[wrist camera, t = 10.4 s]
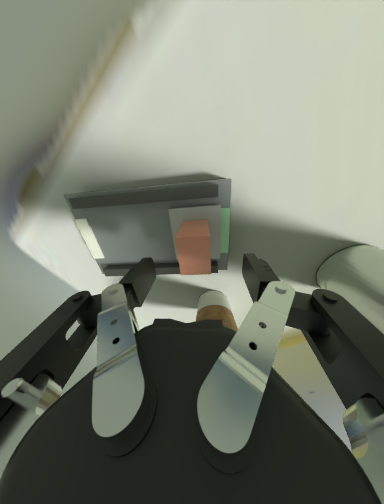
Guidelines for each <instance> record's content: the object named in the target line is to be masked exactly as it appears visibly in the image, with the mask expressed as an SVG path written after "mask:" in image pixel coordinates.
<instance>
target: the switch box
mask: <svg viewBox="0 0 384 504" xmlns="http://www.w3.org/2000/svg"><path fill="white" fill-rule="evenodd" d="M64 197H65V199H66V201H67V203H68V205H69V207H70V209H71V211H72V213H73V215H74V217H75V222H76V224H77V226H78V228H79V230H80V232H81V234H82V236H83V238H84V240H85V242H86V244H87V246H88V248H89V250H90V252H91V254H92V256H93V258H94V259H96V261H97V263H98V265H99V267H100V269H101V271H102V274H105V276H125V275H126V274H127V273H128V271H130V269H131V268H132V267H133V266H134V265H135V264H137V263H139V262H140V261H141V259H142V258H146V257H152V259H153V262H154V265H155V269H156V275H161V274H181V273H180V267H179V261H177V260H176V254H175V248H174V242H173V236H172V230H171V224H170V218H169V211H168V209H169V208H179V207H192V206H204V205H217V204H220V205H221V228H220V259H211V273H218V270H227V264H228V248H229V226H230V197H231V179H218V180H207V181H197V182H186V183H176V184H166V185H155V186H145V187H134V188H124V189H114V190H103V191H93V192H83V193H74V194H66V195H64Z"/></svg>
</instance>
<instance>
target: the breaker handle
mask: <svg viewBox="0 0 384 504" xmlns="http://www.w3.org/2000/svg"><path fill="white" fill-rule="evenodd" d="M168 211H169V218H170V224H171V230H172V236H173V242H174V248H175V254H176V260H177V261H179V267H180V273H181V275H197V274H211V259H220V228H221V205H220V204H217V205H204V206H192V207H179V208H169V209H168Z"/></svg>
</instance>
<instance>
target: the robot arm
mask: <svg viewBox="0 0 384 504" xmlns="http://www.w3.org/2000/svg"><path fill="white" fill-rule="evenodd" d="M242 274H243V278H244V280H245V283H246V285H247V288H248V290H249V293H250V296H251V298H252V301H253V303H254V304H253V306H252V307H251V309H250V311H249V312H248V314H247V316H246V317H245V319H244V321H243V322H242V324H241V326H240V327H239V329H238V331H237V332H236V331H235V330H233V329H231V328H229V327H226V326H223V324H222V320H208V319H205V320H200V321H196V322H191V323H183V322H180V321H176V320H173V319H155V320H154V322H153V324H152V325H149V326H147V327H144V328H142V329H141V330H140V329H139V326H138V323H137V319H136V316H135V312H134V310H133V309H134V308H135V307H141V306H142V304H143V302H144V300H145V298H146V296H147V294H148V292H149V290H150V288H151V286H152V284H153V282H154V280H155V278H156V269H155V265H154V262H153V259H152V257H146V258H142V259H141V261H140V262H139V263H137V264H135V265H134V266H133V267H132V268H131V269H130V271H128V273H127V274H126V275H125V276H124V277H123V279H122V280H121V281H120V282H119V283H118V284H113V285H111V286H109V287H107V288H106V289H105V290H104V291H103V292H102V294H98V295H94V296H91V294H90V292H89V291H81V292H78V293H76V294H74V295H72V296H71V297H69V298H68V299H67V300H66V301H65V302H64V303H63V304H62V305H61V306H60V307H58V308H57V309H56V311H54V312H53V313H52V314H51V315H50V316H49V317H48V318H47V319H46V320H44V321H43V322H42V323H41V324H40V325H39V326H38V327H37V328H36V329H35V330H33V331H32V332H31V333H30V334H29V335H28V336H27V337H26V338H25V339H24V340H23V341H21V342H20V343H19V344H18V345H17V346H16V347H15V348H14V349H13V350H12V351H11V352H10V353H8V354H7V355H6V356H5V357H4V358H3V359H2V360H1V361H0V504H384V250H381V249H379V248H376V247H374V246H369V245H359V246H353V247H350V248H347V249H344V250H342V251H340V252H337V253H336V254H334V255H333V256H331V257H330V258H328V259H327V260H326V261H325V262H324V263H323V264H322V265H321V267H320V268H319V270H318V272H317V276H316V277H317V283H318V284H319V286H320V287H321V288H322V289H316V290H314V291H313V293H312V295H310V294H305V293H300V292H296V291H295V290H294V288H293V287H292V286H290V285H289V284H287V283H284V282H281V281H280V280H279V279H278V277H277V276H276V275H275V273H274V272H273V271H272V269H271V268H270V267H269V265H268V264H267V263H266V262H265V261H263V260H262V259H257V257H256V256H255V254H254V253H250V254H244V256H243V266H242ZM76 320H77V321H78V323H79V324H80V326H79V327H78V328H77V329H76V331H75V332H74V333H73V334H72V335H71V337H70V338H69V339H68V340H66V338H65V336H66V332H67V331H68V329H69V328H70V327H71V326H72V325H73V324H74V322H75V321H76ZM285 325H286V326H290V327H293V328H297V329H300V330H301V331H302V333H303V334H304V336H305V338H306V340H307V341H308V343H309V345H310V347H311V348H312V350H313V352H314V354H315V355H316V357H317V359H318V361H319V362H320V364H321V366H322V368H323V369H324V371H325V373H326V375H327V376H328V378H329V380H330V381H331V383H332V385H333V387H334V388H335V390H336V392H337V394H338V396H339V397H340V399H341V401H342V403H343V404H344V406H345V408H346V410H345V412H344V413H343V424H344V427H345V430H346V432H347V435H348V437H349V440H350V443H351V448H352V453H351V451H350V450H349V449H348V447H347V446H346V445H345V444H344V443H343V441H342V440H341V439H340V438H339V437H338V436H337V435H336V434H335V432H334V431H333V430H332V429H331V428H330V427H329V426H328V425H327V424H326V423H325V422H324V421H323V420H322V419H321V418H320V417H319V416H318V415H317V414H316V413H315V411H314V410H313V409H312V408H311V407H310V406H309V405H308V404H307V403H306V402H305V401H304V400H303V399H302V398H301V397H300V396H299V395H298V394H297V393H296V392H295V391H294V390H293V388H291V386H290V385H289V384H288V383H286V381H285V380H284V379H283V378H282V377H281V376H280V375H279V374H278V373H277V372H276V371H275V370H274V369H273V368H272V364H273V362H274V358H275V355H276V352H277V349H278V346H279V343H280V340H281V337H282V333H283V330H284V327H285ZM96 335H97V367H95V368H94V369H93V370H92V371H90V372H89V373H88V374H87V375H86V376H85V377H83V378H82V379H81V380H80V381H79V382H78V383H76V384H75V385H74V386H73V387H72V388H71V389H70V390H68V391H67V392H66V393H65V394H63V395H62V396H61V397H60V395H61V390H62V389H63V387H64V386H65V384H66V383H67V381H68V380H69V378H70V376H71V375H72V373H73V372H74V370H75V369H76V367H77V365H78V364H79V362H80V361H81V359H82V358H83V356H84V355H85V353H86V351H87V350H88V348H89V347H90V345H91V344H92V342H93V341H94V339H95V337H96Z"/></svg>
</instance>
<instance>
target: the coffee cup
mask: <svg viewBox="0 0 384 504" xmlns="http://www.w3.org/2000/svg"><path fill="white" fill-rule="evenodd" d="M205 319H208V320H222V324H223V326H226V327H229V328H231V329H233V330H235V331H236V332H237V331H238V329H237V326H236V323H235V320H234V317H233V314H232V311H231V308H230V305H229V302H228V299H227V297H226V296H225V295H224V294H223V293H221V292H219V291H208V292H205V293H203V294H202V295H201V296H200V298H199V302H198V311H197V317H196V321H200V320H205Z"/></svg>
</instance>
